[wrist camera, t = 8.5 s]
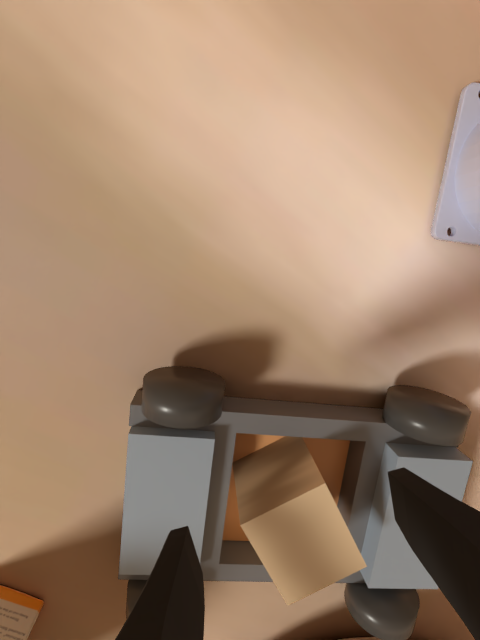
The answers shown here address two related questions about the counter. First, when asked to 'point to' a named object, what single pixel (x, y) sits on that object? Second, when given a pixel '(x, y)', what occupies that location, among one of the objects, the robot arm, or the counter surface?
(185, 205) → the counter surface
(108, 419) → the counter surface
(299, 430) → the car chassis
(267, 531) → the engine block
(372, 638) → the bowl
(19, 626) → the supplement box
